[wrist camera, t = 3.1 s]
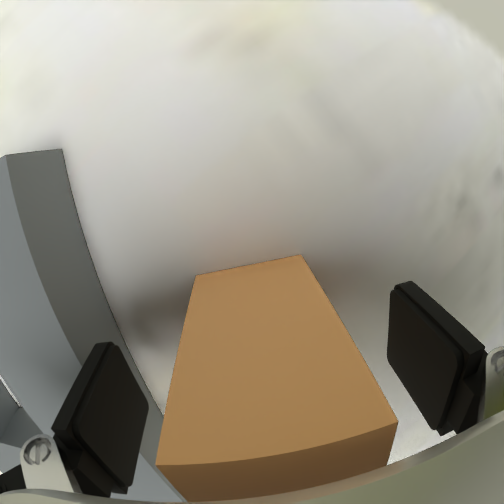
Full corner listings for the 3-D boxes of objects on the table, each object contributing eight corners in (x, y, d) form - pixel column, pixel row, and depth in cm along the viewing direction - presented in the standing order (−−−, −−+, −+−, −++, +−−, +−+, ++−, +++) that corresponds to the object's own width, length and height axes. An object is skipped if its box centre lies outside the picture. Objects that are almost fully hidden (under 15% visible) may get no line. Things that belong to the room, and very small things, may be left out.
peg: (300, 254, 11) (398, 421, 4) (311, 339, 13) (373, 504, 5) (195, 275, 11) (154, 464, 4) (220, 357, 13) (219, 531, 5)
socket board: (61, 148, 9) (5, 155, 6) (200, 473, 16) (198, 516, 13) (-94, 241, 9) (-126, 259, 6) (30, 458, 16) (17, 486, 13)
